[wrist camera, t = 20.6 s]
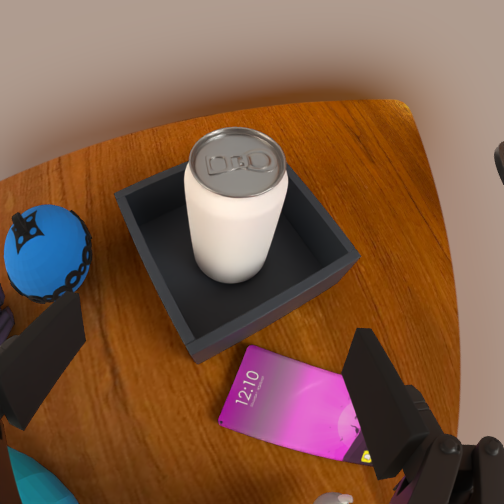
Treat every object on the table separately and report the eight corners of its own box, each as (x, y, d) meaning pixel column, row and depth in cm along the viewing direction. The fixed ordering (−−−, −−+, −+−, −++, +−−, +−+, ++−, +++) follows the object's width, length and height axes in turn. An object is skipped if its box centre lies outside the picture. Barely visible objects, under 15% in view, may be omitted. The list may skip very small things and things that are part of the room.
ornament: (23, 262, 26) (-29, 210, 17) (86, 219, 29) (49, 154, 20) (49, 332, 23) (-16, 296, 15) (120, 285, 26) (78, 228, 18)
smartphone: (378, 466, 21) (383, 468, 20) (216, 423, 22) (216, 424, 21) (401, 393, 24) (406, 392, 23) (248, 343, 25) (249, 342, 24)
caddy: (337, 283, 29) (361, 256, 23) (197, 364, 24) (190, 355, 19) (255, 173, 33) (262, 134, 28) (129, 228, 29) (113, 193, 24)
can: (273, 278, 27) (308, 196, 17) (199, 291, 26) (187, 211, 15) (257, 216, 30) (277, 119, 19) (189, 226, 29) (177, 128, 18)
